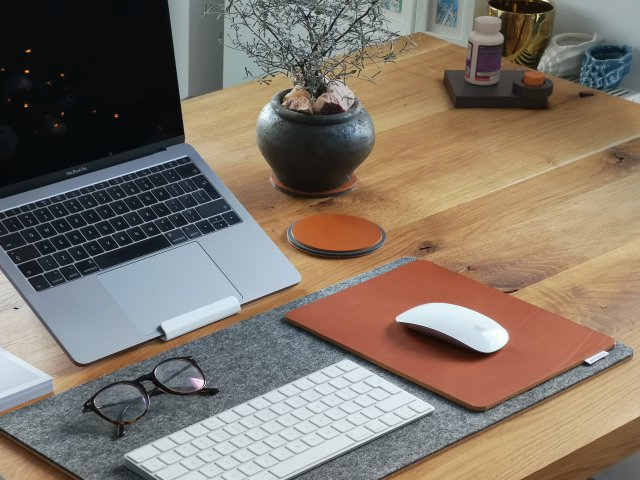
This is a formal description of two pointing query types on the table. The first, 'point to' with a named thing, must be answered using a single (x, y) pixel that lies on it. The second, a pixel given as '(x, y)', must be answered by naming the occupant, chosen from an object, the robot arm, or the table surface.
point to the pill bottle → (484, 52)
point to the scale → (497, 91)
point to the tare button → (533, 78)
